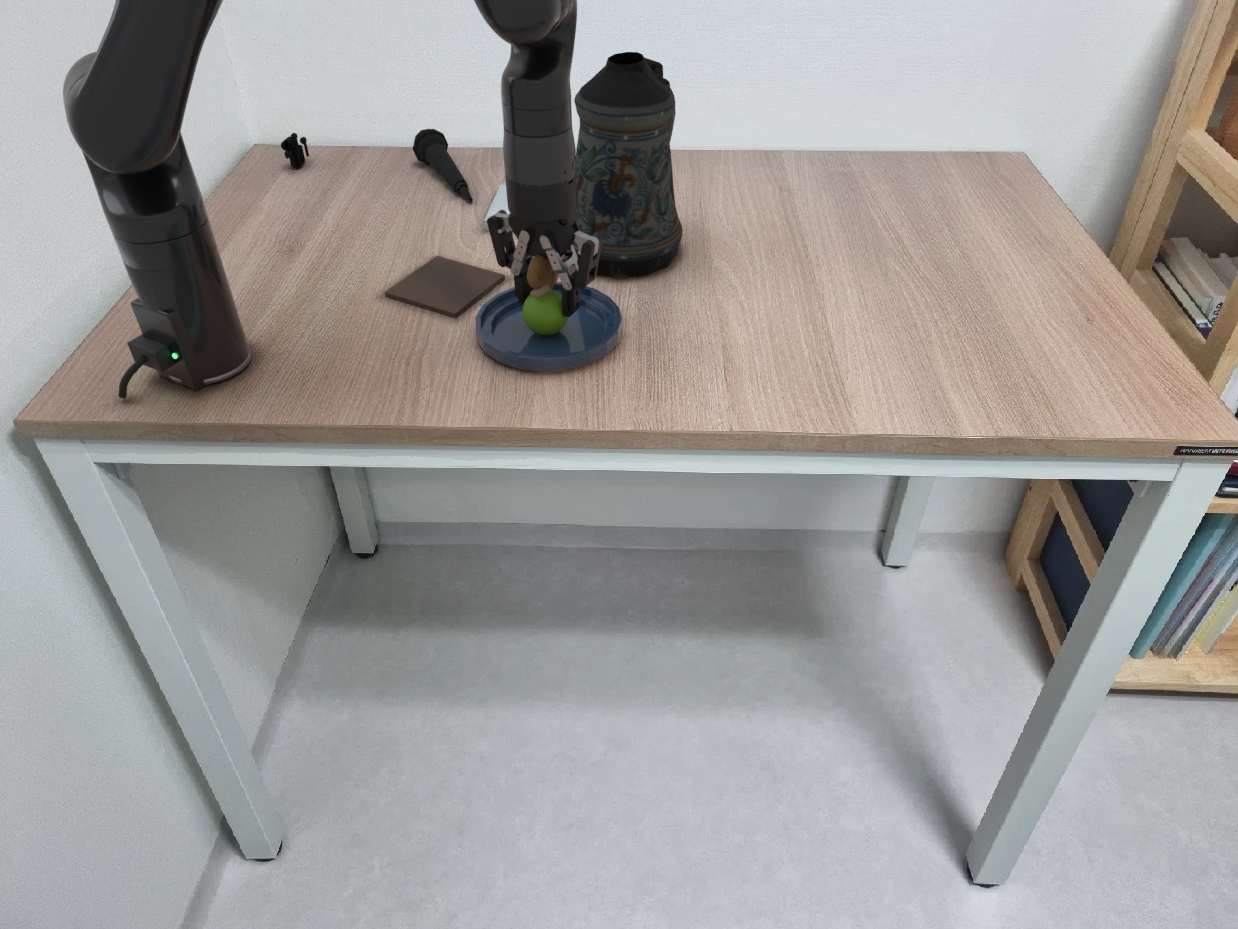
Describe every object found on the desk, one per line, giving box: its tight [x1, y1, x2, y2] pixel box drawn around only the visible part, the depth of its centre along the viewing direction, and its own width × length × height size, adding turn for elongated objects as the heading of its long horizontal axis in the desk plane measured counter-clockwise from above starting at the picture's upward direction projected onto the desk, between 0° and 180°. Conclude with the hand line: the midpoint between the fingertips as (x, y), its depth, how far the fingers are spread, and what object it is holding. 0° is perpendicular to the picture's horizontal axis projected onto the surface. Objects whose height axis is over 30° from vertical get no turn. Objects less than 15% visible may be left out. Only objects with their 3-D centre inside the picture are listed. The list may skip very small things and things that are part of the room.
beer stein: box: [573, 51, 683, 280], centre depth 119 cm, size 16×19×25 cm
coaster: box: [384, 255, 506, 318], centre depth 118 cm, size 11×11×1 cm
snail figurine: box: [523, 255, 568, 335], centre depth 106 cm, size 5×6×12 cm
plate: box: [474, 280, 623, 372], centre depth 109 cm, size 17×17×2 cm
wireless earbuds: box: [280, 132, 310, 170], centre depth 146 cm, size 7×2×5 cm, turn 169°
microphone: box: [412, 128, 474, 203], centre depth 142 cm, size 6×6×20 cm
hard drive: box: [483, 183, 513, 232], centre depth 134 cm, size 2×8×12 cm
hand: (548, 306), depth 108 cm, fingers closed on snail figurine, 5 cm apart
